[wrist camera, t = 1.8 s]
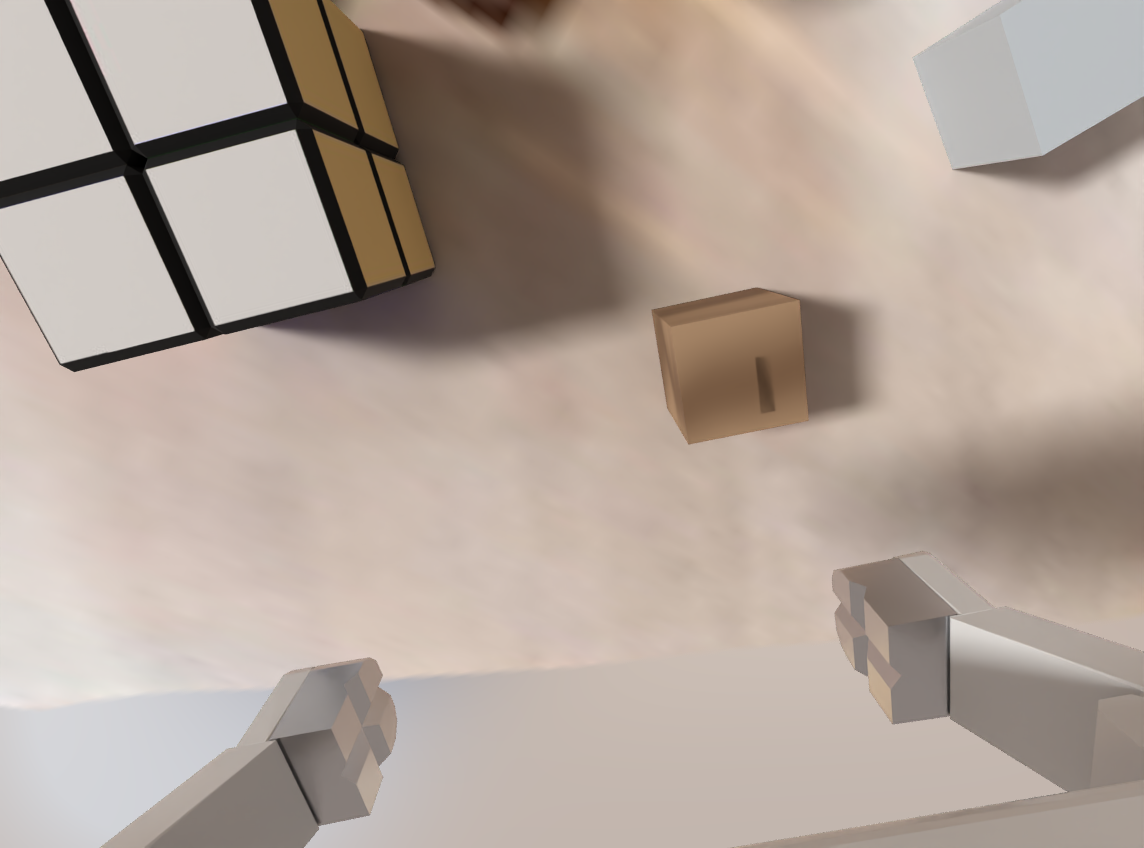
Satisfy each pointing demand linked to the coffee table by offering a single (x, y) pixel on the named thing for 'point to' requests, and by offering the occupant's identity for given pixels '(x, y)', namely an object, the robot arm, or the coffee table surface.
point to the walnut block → (732, 363)
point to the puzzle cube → (194, 170)
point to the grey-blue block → (1032, 76)
